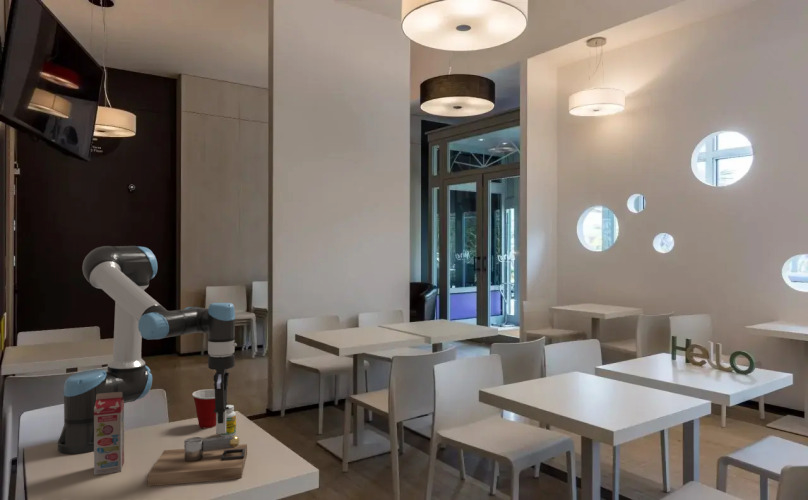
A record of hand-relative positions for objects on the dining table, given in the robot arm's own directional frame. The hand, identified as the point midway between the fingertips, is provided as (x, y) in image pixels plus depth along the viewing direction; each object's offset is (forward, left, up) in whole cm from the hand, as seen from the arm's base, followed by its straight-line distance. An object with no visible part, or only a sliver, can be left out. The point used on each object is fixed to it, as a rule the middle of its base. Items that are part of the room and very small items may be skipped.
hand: (221, 432), depth 160 cm
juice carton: (0, -31, -8) cm, 32 cm away
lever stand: (+6, -5, -8) cm, 11 cm away
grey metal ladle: (+5, -2, -5) cm, 7 cm away
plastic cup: (-34, -9, -8) cm, 36 cm away
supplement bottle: (-23, -1, -8) cm, 24 cm away
